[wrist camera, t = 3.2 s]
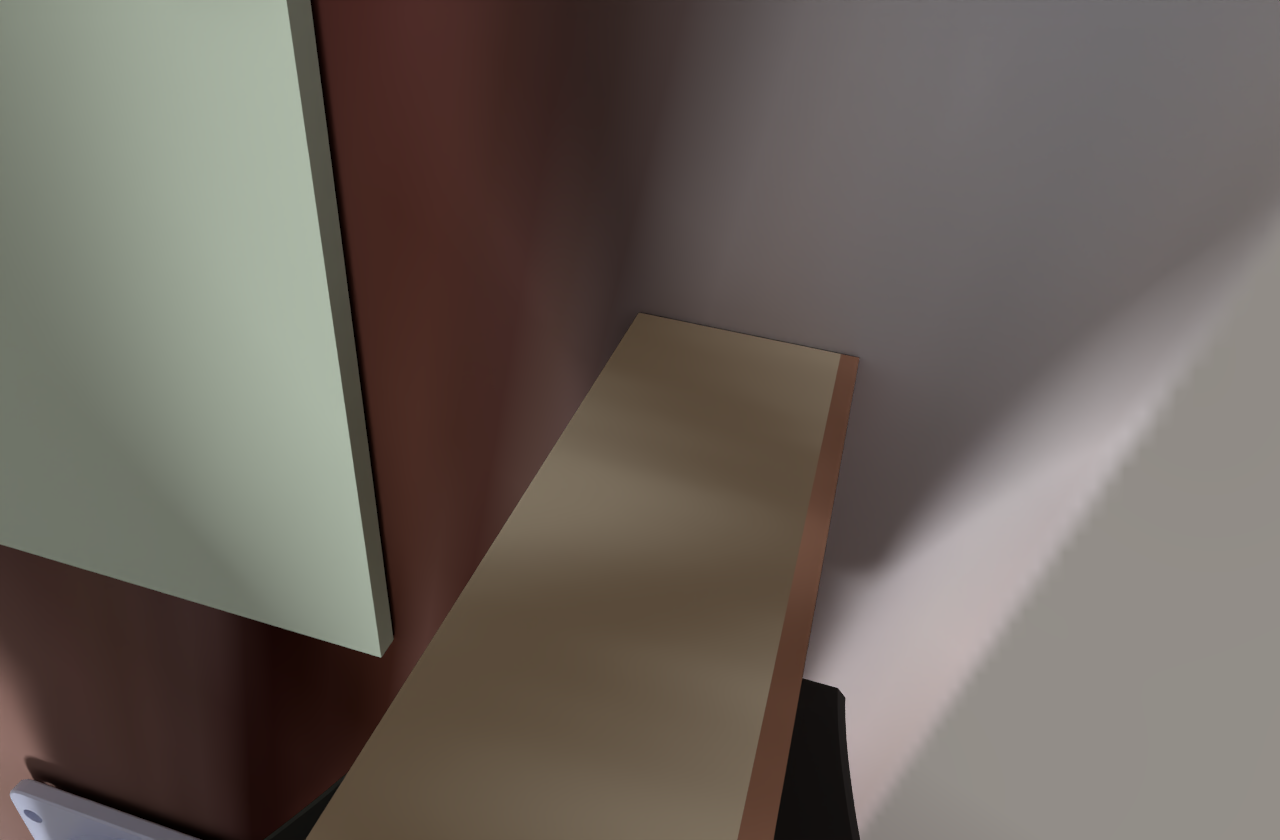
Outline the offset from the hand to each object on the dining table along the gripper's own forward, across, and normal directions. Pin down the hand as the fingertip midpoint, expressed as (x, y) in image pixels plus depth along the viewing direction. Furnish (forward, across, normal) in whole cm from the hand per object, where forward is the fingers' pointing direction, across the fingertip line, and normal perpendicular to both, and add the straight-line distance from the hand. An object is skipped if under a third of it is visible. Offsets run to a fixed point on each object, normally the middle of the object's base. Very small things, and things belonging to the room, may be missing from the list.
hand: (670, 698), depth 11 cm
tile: (+2, 0, 0) cm, 2 cm away
